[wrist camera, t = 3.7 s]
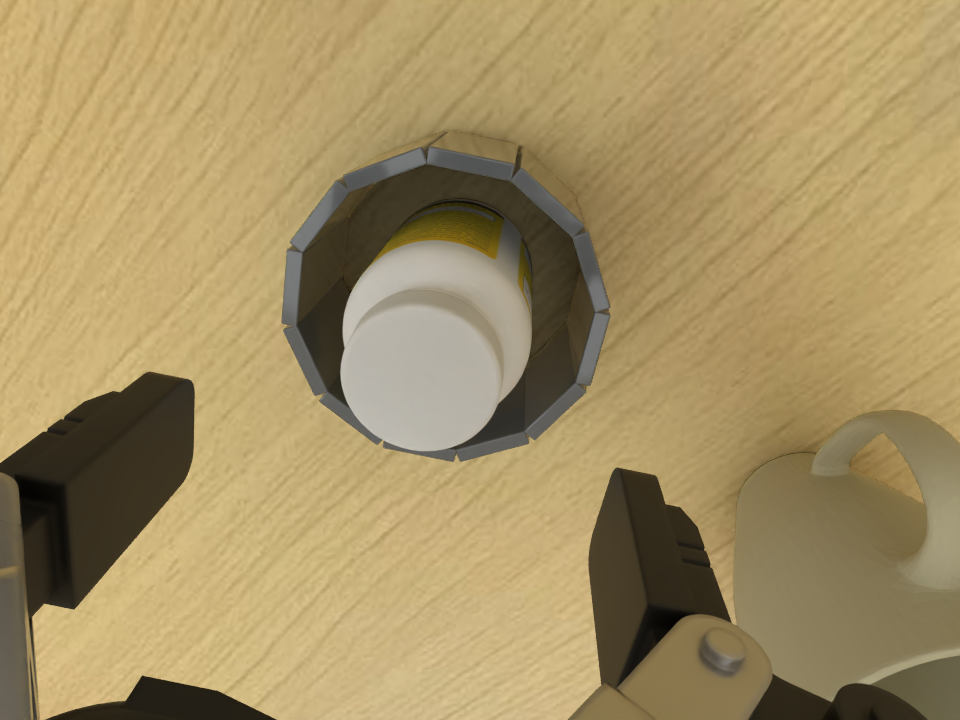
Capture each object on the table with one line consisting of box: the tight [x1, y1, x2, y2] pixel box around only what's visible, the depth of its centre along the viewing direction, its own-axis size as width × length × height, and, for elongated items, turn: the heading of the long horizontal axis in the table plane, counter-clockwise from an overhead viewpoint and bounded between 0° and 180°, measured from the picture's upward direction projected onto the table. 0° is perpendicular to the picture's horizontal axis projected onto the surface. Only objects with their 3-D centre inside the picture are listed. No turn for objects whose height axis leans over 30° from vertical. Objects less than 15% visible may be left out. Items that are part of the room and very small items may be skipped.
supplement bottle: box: [340, 199, 532, 451], centre depth 21 cm, size 5×5×10 cm
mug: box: [733, 410, 960, 720], centre depth 22 cm, size 11×10×12 cm
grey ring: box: [282, 130, 610, 462], centre depth 23 cm, size 10×10×6 cm
